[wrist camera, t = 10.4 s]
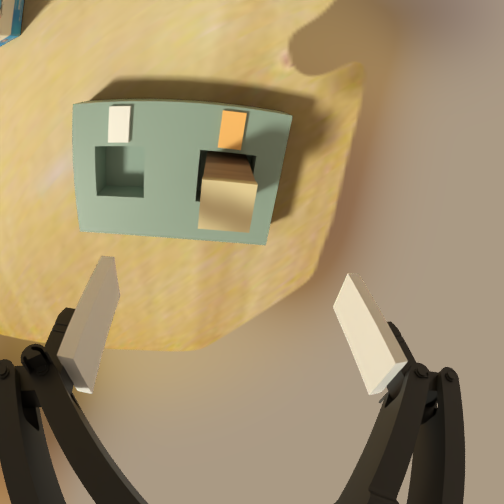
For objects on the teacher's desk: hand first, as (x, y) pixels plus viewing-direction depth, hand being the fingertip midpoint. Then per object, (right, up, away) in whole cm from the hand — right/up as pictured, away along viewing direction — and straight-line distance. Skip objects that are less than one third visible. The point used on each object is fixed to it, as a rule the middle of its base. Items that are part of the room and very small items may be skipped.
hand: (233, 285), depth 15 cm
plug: (-2, +12, +18) cm, 21 cm away
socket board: (-8, +13, +18) cm, 23 cm away
